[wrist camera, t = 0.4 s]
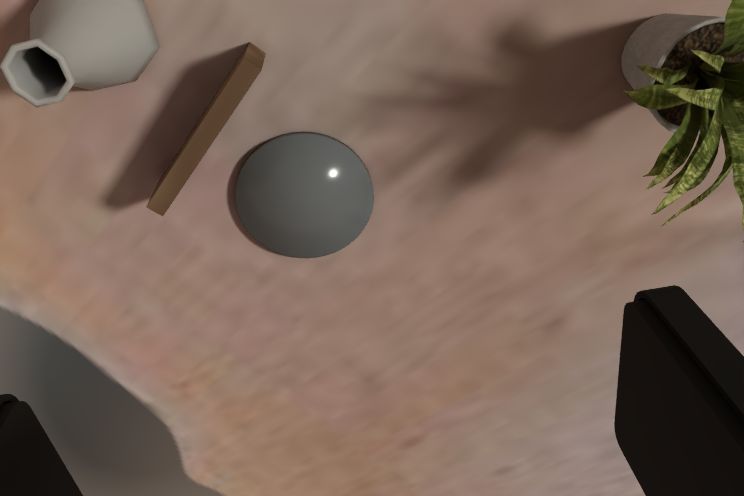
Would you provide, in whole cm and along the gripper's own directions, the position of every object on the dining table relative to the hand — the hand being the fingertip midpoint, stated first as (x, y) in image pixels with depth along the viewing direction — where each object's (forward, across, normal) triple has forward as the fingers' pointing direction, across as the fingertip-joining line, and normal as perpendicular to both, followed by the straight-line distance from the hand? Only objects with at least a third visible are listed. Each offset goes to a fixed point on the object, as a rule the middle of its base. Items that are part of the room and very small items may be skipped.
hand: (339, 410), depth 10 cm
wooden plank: (+34, +9, +5) cm, 36 cm away
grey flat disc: (+34, +4, +12) cm, 36 cm away
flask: (+34, +14, -1) cm, 37 cm away
